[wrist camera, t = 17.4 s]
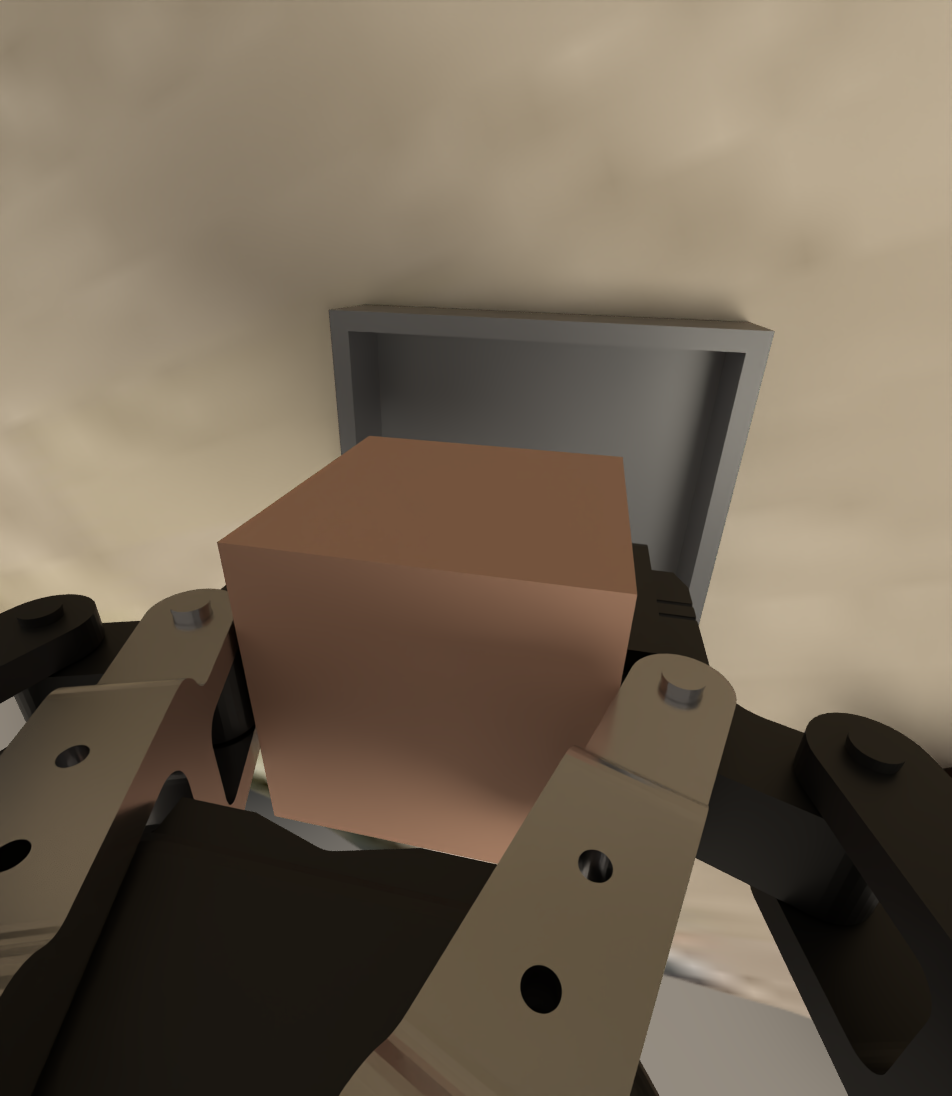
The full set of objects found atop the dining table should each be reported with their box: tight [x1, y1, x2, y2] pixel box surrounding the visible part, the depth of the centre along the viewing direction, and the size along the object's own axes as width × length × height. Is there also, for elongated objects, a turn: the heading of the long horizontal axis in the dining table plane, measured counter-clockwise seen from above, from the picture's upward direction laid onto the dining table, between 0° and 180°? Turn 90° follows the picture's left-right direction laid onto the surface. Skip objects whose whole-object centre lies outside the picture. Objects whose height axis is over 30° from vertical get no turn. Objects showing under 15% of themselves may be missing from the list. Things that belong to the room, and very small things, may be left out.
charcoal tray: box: [329, 305, 775, 625], centre depth 22 cm, size 17×13×3 cm
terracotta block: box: [217, 436, 637, 864], centre depth 10 cm, size 5×5×5 cm
